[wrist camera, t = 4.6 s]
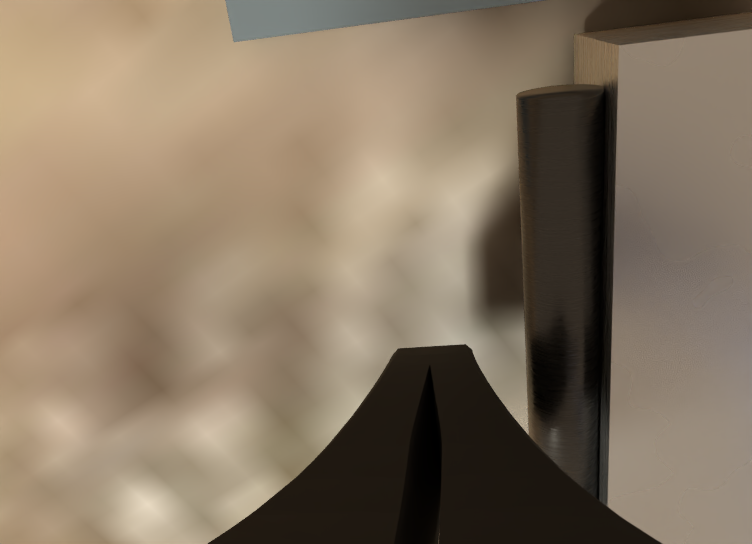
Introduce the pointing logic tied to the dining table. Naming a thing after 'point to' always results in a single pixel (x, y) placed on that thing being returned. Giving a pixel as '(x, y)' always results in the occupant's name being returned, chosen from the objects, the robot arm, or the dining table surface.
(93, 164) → the dining table surface
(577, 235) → the sliding jaw
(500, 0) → the vise
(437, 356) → the robot arm
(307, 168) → the dining table surface
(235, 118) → the dining table surface
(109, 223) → the dining table surface
